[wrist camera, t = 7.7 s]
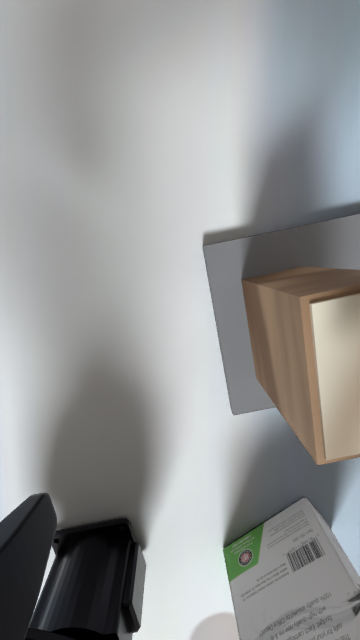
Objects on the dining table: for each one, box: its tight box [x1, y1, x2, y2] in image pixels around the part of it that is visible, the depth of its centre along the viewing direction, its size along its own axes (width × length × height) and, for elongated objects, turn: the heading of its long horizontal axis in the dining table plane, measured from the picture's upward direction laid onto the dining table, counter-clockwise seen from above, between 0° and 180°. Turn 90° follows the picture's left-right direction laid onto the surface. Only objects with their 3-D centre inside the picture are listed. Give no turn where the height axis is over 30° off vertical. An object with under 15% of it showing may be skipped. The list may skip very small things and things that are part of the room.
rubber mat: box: [203, 214, 360, 415], centre depth 18 cm, size 14×12×1 cm
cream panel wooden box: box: [241, 267, 360, 465], centre depth 14 cm, size 4×7×8 cm, turn 12°
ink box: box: [223, 498, 360, 640], centre depth 17 cm, size 9×5×12 cm, turn 128°
